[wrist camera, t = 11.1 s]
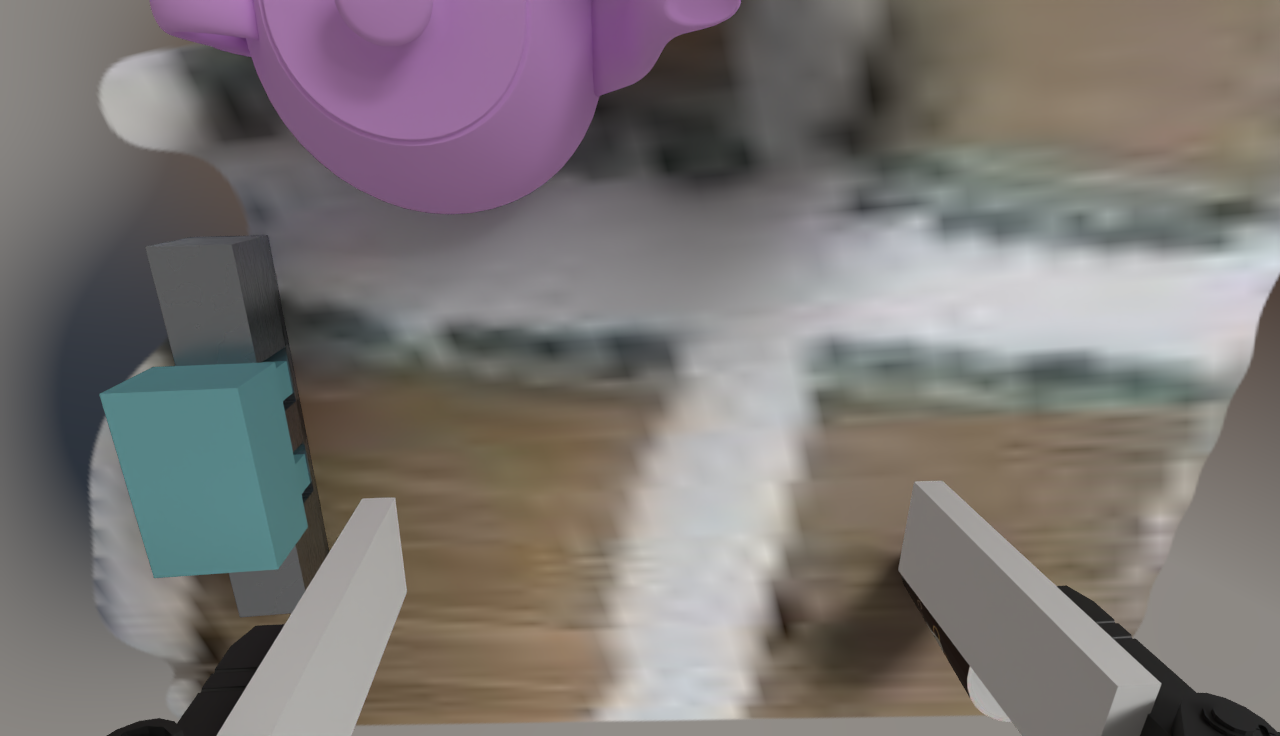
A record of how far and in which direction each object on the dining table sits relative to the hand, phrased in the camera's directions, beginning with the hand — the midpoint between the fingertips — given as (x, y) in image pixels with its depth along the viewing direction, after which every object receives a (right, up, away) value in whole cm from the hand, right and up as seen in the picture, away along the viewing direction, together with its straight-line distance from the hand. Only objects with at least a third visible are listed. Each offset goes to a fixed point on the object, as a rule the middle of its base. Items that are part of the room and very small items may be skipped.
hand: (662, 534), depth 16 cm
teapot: (-10, +21, +18) cm, 29 cm away
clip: (-23, +1, +22) cm, 32 cm away
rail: (-23, +1, +22) cm, 32 cm away
